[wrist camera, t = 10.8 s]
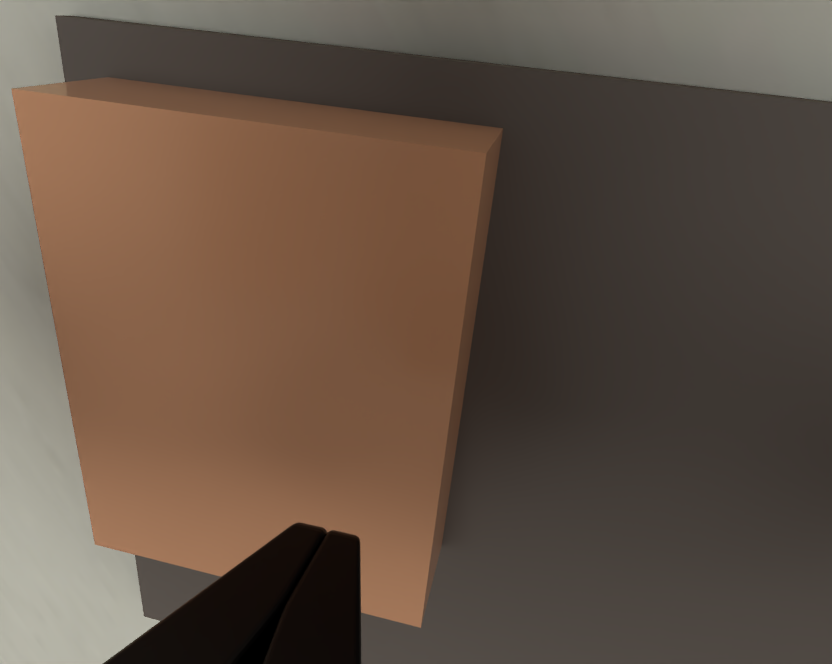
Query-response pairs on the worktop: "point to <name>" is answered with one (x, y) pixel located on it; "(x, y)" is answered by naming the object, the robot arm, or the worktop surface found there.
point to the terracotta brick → (261, 317)
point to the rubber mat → (597, 356)
